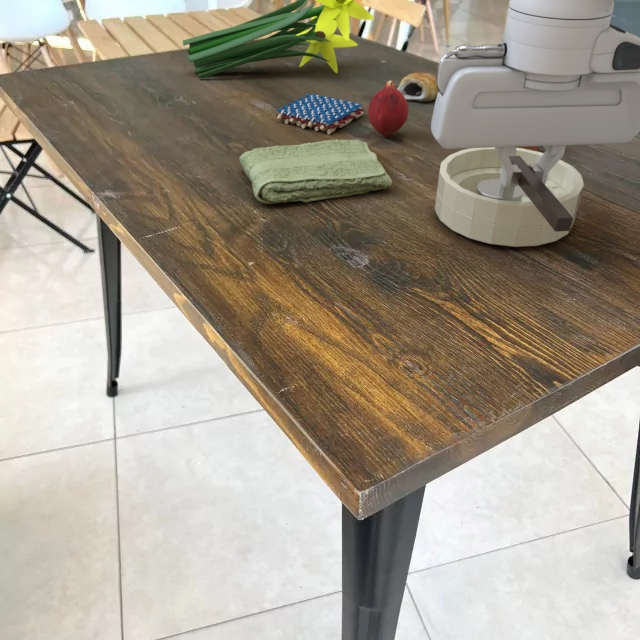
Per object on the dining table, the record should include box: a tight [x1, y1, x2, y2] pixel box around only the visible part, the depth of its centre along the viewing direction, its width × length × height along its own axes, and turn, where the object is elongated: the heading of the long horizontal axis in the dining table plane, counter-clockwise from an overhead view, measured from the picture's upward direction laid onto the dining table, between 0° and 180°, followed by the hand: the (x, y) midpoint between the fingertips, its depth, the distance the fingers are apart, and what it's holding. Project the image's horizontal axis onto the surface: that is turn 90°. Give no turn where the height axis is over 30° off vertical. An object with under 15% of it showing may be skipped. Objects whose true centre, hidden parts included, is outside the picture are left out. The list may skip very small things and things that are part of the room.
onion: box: [367, 80, 410, 138], centre depth 93 cm, size 6×6×8 cm
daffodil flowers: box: [182, 0, 375, 79], centre depth 117 cm, size 17×15×35 cm
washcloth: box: [238, 138, 393, 205], centre depth 83 cm, size 13×18×3 cm
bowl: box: [434, 147, 585, 248], centre depth 74 cm, size 16×16×6 cm
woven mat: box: [275, 93, 365, 135], centre depth 101 cm, size 10×11×2 cm
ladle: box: [476, 156, 573, 232], centre depth 67 cm, size 19×5×7 cm, turn 5°
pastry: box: [396, 71, 438, 103], centre depth 110 cm, size 9×7×4 cm
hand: (522, 183), depth 67 cm, fingers closed on ladle
